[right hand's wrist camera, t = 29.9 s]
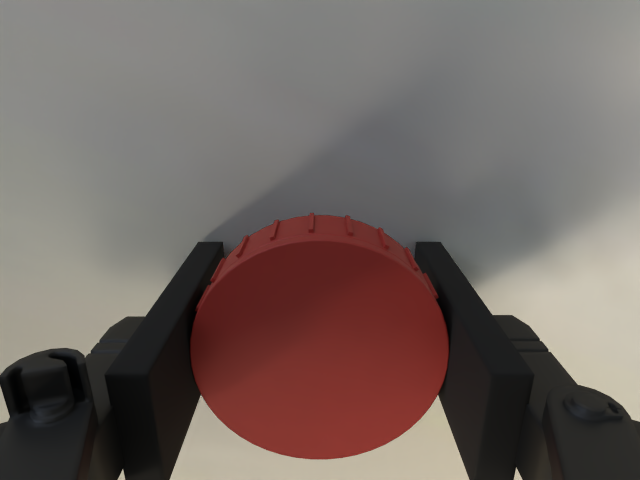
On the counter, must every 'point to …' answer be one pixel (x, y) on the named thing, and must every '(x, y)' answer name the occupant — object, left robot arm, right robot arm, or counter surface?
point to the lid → (319, 339)
